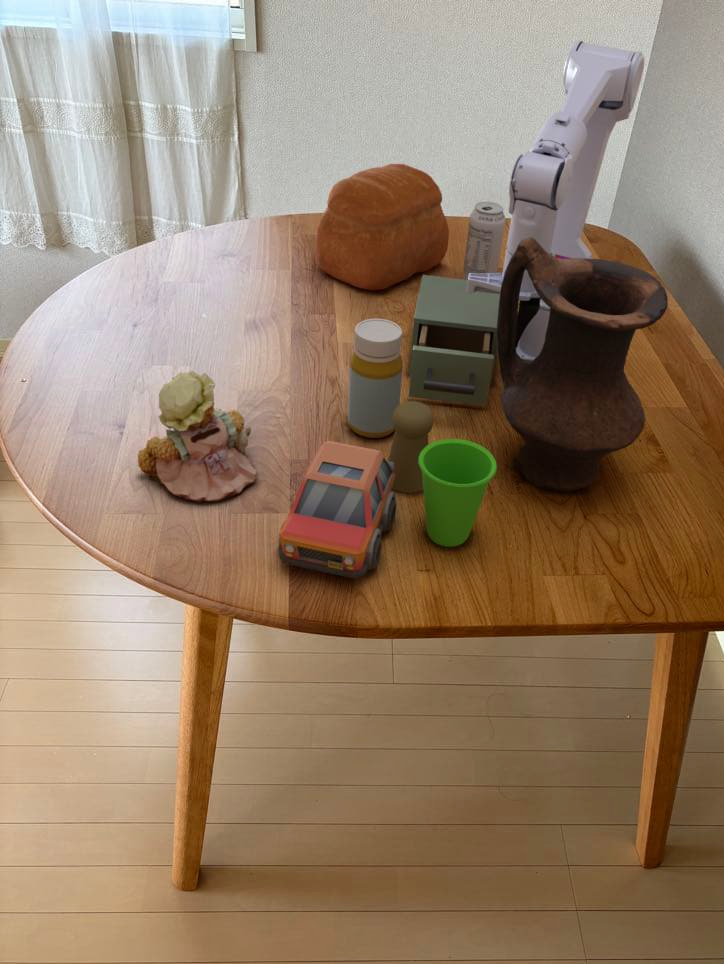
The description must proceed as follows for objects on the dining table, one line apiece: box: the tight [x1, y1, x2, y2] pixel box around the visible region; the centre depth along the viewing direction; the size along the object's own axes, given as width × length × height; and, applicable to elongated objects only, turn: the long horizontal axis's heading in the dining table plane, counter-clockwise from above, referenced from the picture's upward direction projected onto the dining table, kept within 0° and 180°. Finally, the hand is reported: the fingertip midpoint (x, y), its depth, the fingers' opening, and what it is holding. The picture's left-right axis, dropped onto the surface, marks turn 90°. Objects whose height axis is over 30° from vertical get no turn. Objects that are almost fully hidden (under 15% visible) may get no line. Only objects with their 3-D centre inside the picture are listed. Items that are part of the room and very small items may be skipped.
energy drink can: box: [461, 201, 507, 280], centre depth 157 cm, size 6×6×15 cm
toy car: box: [277, 439, 397, 579], centre depth 106 cm, size 12×17×10 cm
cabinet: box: [408, 274, 500, 386], centre depth 141 cm, size 15×13×10 cm
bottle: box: [347, 318, 404, 439], centre depth 123 cm, size 7×7×15 cm
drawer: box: [408, 324, 494, 407], centre depth 133 cm, size 18×11×8 cm, turn 174°
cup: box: [418, 438, 498, 548], centre depth 108 cm, size 9×9×11 cm
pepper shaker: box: [387, 400, 435, 494], centre depth 115 cm, size 6×6×11 cm
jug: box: [496, 237, 669, 493], centre depth 114 cm, size 21×18×30 cm
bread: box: [314, 163, 450, 291], centre depth 160 cm, size 18×21×17 cm
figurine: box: [137, 370, 258, 503], centre depth 112 cm, size 15×14×15 cm
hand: (512, 343), depth 127 cm, fingers closed
